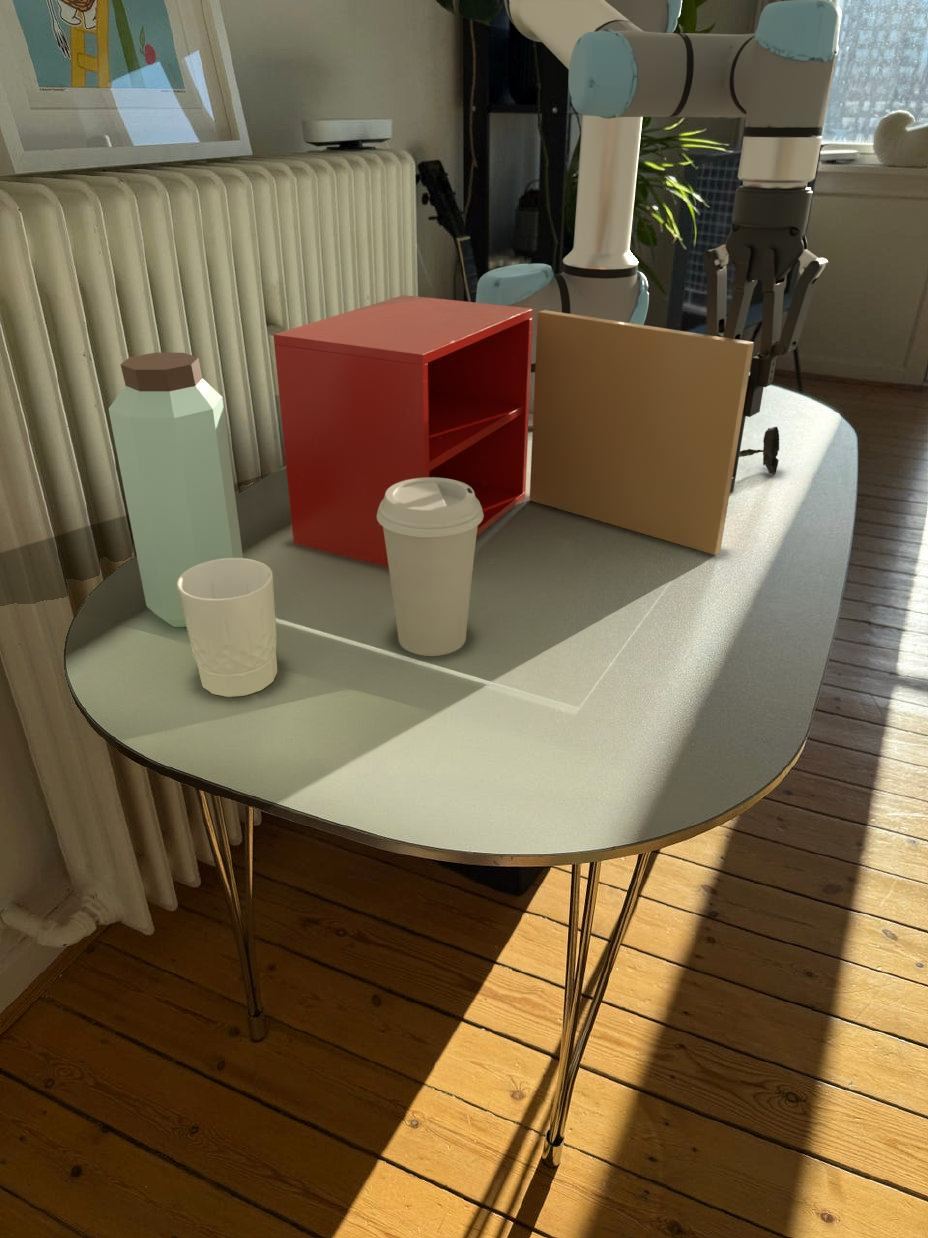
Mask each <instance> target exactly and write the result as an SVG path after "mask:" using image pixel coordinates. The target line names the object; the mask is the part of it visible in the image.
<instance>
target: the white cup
mask: <svg viewBox="0 0 928 1238" xmlns="http://www.w3.org/2000/svg"><path fill="white" fill-rule="evenodd" d="M177 587H178V592H179V596H180V600H181V605H182V609H183V614H184V618H185V622H186V626H187V627H186V631H187V634H188V635H187V636H188V639H189V644H190V647H191V650H192V655H193V659H194V660H195V662H196V666H197V669H198V673H199V678H200V682H201V686H202V688H203V689H205V690H206V691H208V692H209V693H210V694H212V695H217V696H222V697H227V698H232V697H233V698H234V697H242V696H243V697H244V696H245V697H246V696H248V695H251V694H255V693H257V692H261V691H263V690H264V689H265V688H266V687H268V686H269V685H271V684H272V683H273V682H274V680H275V678H276V676H277V674H278V662H277V651H276V649H277V631H276V629H277V622H276V621H277V620H276V604H275V590H274V589H275V588H274V574H273V571H272V568H270V566H268V564H266V563H264V562H262V561H260V560H256V559H252V558H246V557H245V558H244V557H243V558H223V559H216V560H211V561H207V562H204V563H201V564H198V565H196V566H193V567H191V568H190V569H188V570H186V571H185V572H184V573H183V574H182V575H181V576H180V577H179V579H178V581H177Z"/></svg>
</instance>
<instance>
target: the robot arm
mask: <svg viewBox="0 0 928 1238" xmlns="http://www.w3.org/2000/svg"><path fill="white" fill-rule="evenodd" d="M503 2H504V7H505V10H506V14H507V16H508V17H509V20H510V22H511V23H512V24H513V26H514V27H515V28H516V29H517V30H518V32H520V34H521V35H523V36H524V37H525V38H527V39H529V40H531V41H534V42H537V43H542V44H543V45H544V46H545V47H546V48H547V49H548V50H549V51H550V52H551V53H552V54H553V55H554V56H555V57H556V58H557V60H559V61H560V62H561V64H563V66H564V67H566V68H567V70H568V92H569V93H568V94H569V96H570V98H571V104H572V108H574V110H575V112H577V113H578V114H580V115H582V119H581V131H580V147H579V160H578V174H577V175H578V177H577V189H576V190H577V191H576V205H575V206H576V207H575V220H574V221H575V222H574V234H573V235H574V237H573V247H572V250H570V252H569V253H568V254H567V255H565V256H564V257H563V259H562V268H561V269H562V271H561V273H554V271H553V268H552V266H551V265H549V264H546V263H537V262H535V263H519V264H511V265H506V266H501V267H497V268H494V269H492V270H489V271H487V272H486V273H484V274H483V275H482V276H481V277H480V278H479V280H478V281H477V285H476V294H475V303H484V304H493V305H503V306H512V307H522V308H531V309H533V317H532V318H533V325H532V349H531V373H530V397H529V421H528V431H529V430H530V431H531V430H533V410H534V387H535V365H536V342H537V319H538V312H540V311H543V310H548V311H554V312H561V313H567V314H574V315H580V316H587V317H594V318H600V319H607V320H613V321H620V322H626V323H633V324H639V325H645V321H646V318H647V313H648V310H649V303H650V293H649V292H648V289H649V282H648V280H647V277H646V276H645V274H644V273H643V272H641V271H639V270H638V266H639V261H638V259H637V258H636V257H635V255H633V253H632V252H631V250H630V248H631V237H632V229H633V228H632V227H633V218H634V217H633V216H634V206H635V197H636V187H637V186H636V185H637V177H638V176H637V175H638V165H639V155H640V145H641V136H642V135H641V134H642V125H643V118H671V117H673V118H715V119H736V118H745V123H744V129H743V139H742V146H741V152H740V159H739V165H738V172H737V178H738V180H740V181H742V185H739V186H738V188H737V189H736V190H735V194H734V203H733V210H732V218H731V229H730V232H729V234H728V236H727V237H726V239H725V243H724V244H722V245H720V246H717V247H716V248H712V249H707V250H704V252H702V255H701V260H702V263H703V266H704V268H705V272H706V335H711V336H718V337H724V338H731V339H737V340H742V337H743V333H744V329H745V325H746V321H747V316H748V313H749V309H750V305H751V302H752V297H753V294H754V289H755V287H756V286H757V284H758V281H760V282H761V283H762V284H761V291H762V294H763V296H762V297H763V298H762V299H763V300H762V313H761V314H762V315H761V330H760V331H761V332H760V347H759V349H760V350H759V352H758V353H757V355H755V356H752V359H751V365H750V371H749V372H750V378H749V384H748V390H747V396H746V403H745V409H744V415H743V416H746V418H751V417H753V416H755V415H757V414H758V413H760V412H761V405H762V399H763V393H764V388H767V387H769V386H771V385H772V383H773V382H774V375H775V370H776V365H777V364H776V363H777V358H778V357H779V356H784V355H786V354H789V353H791V352H793V351H794V350H796V349H797V346H798V343H799V340H800V337H801V334H802V331H803V327H804V325H805V321H806V318H807V315H808V312H809V308H810V306H811V302H812V299H813V296H814V293H815V290H816V286H817V283H818V281H819V280H820V278H821V277H822V275H823V274H824V272H825V271H826V270H827V269H828V267H829V261H828V259H827V258H826V257H818V256H817V255H816V254H814V253H812V252H811V251H810V250H808V241H807V238H806V231H807V226H808V222H809V216H810V210H811V205H812V198H813V194H814V193H813V190H812V187H808V183H810V182H813V180H815V179H816V175H817V174H816V172H817V167H818V163H819V155H820V152H821V151H820V149H821V145H822V140H823V130H824V127H825V123H826V117H827V111H828V106H829V100H830V96H831V90H832V85H833V79H834V74H835V68H836V63H837V57H838V55H839V52H840V51H839V50H840V47H839V37H840V30H841V23H842V15H843V14H842V9H841V7H840V5H839V4H838V3H836V2H834V1H831V0H781V1H775V2H771V3H768V4H767V5H765V6H764V8H763V9H762V11H761V12H760V14H759V15H760V16H759V20H758V24H757V28H756V30H755V33H746V34H745V33H744V34H743V33H741V34H732V33H731V34H730V33H729V34H728V33H687V32H686V33H685V32H674V31H675V30H676V28H677V25H678V19H679V17H680V16H681V10H682V3H683V0H503ZM729 259H730V261H731V263H732V265H733V267H734V269H735V271H736V272H735V276H734V281H733V284H732V287H733V292H732V296H731V301H730V305H729V308H728V313H727V299H728V298H727V296H728V295H727V291H728V288H727V287H728V271H727V270H728V269H727V265H728V264H729ZM798 263H799V267H798V273H799V275H800V276H799V278H798V280H797V282H796V285H795V288H794V292H793V295H792V297H791V302H790V304H789V308H788V311H787V314H786V317H785V322H784V324H783V328H782V322H783V321H782V320H783V309H784V307H783V305H784V292H785V289H786V287H787V276H788V274H789V273H790V271H792V269H793V268H794V267H796V265H797V264H798Z"/></svg>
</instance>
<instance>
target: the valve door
mask: <svg viewBox="0 0 928 1238" xmlns="http://www.w3.org/2000/svg"><path fill="white" fill-rule="evenodd" d="M754 345H755V342H754V341H751V340H750V341H749V340H743V339H741V340H737V339H731V338H724V337H718V336H711V335H707V334H705V333H697V332H690V331H685V330H676V329H672V328H671V329H670V328H664V327H659V326H651V325H645V324H643V325H639V324H633V323H626V322H620V321H613V320H607V319H600V318H594V317H587V316H580V315H574V314H567V313H561V312H554V311H548V310H543V311H540V312H538V319H537V342H536V365H535V387H534V410H533V429H532V436H531V437H532V438H531V456H530V457H531V458H530V459H531V461H530V478H529V479H530V480H529V481H530V482H529V501H531V502H534V503H537V504H541V505H544V506H546V507H547V506H548V507H551V508H555V509H557V510H561V511H563V512H568V513H572V514H574V515H578V516H582V517H585V518H589V519H592V520H595V521H598V522H602V523H605V524H609V525H612V526H615V527H619V528H621V529H626V530H629V531H632V532H635V533H639V534H643V535H646V536H649V537H652V538H655V539H660V540H662V541H667V542H669V543H673V544H677V545H680V546H683V547H687V548H689V549H690V548H691V549H693V550H697V551H700V552H704V553H707V554H710V555H714V556H716V555H717V554H718V553H720V552H721V549H722V543H723V537H724V531H725V524H726V518H727V512H728V507H729V506H728V505H729V500H730V495H731V494H733V493H734V490H735V486H736V485H735V484H736V479H737V472H738V465H739V459H740V457H739V454H740V451H741V449H742V448H741V447H742V442H743V435H744V429H745V423H746V418H747V416H743V415H744V409H745V403H746V396H747V390H748V384H749V378H750V370H751V364H752V358H753V352H754Z"/></svg>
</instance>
